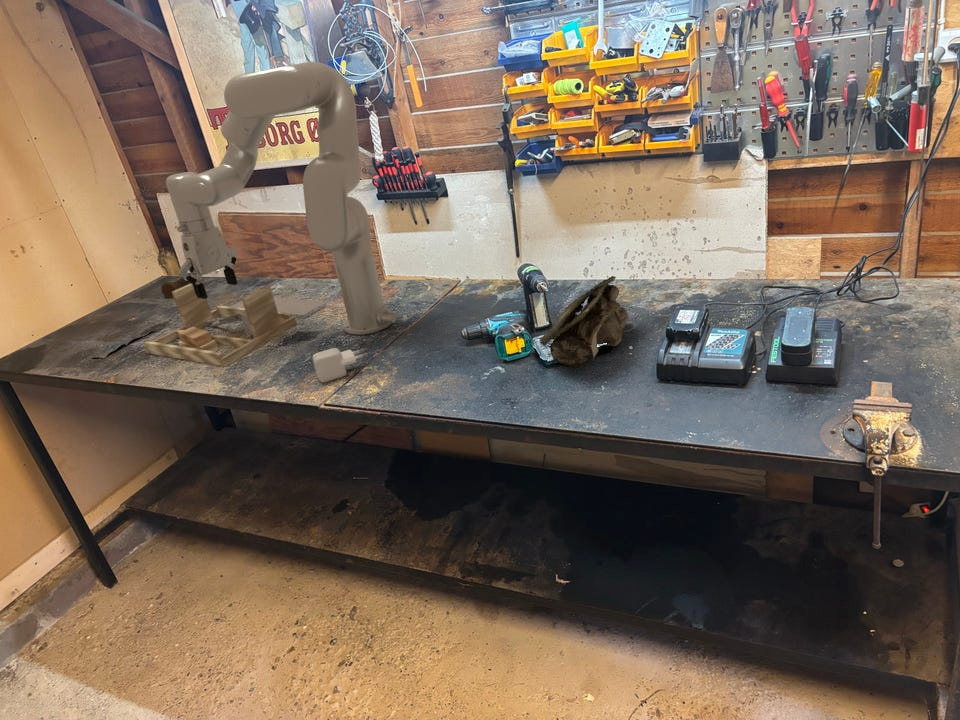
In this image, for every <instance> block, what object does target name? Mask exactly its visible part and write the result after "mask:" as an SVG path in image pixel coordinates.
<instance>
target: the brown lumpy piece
mask: <svg viewBox="0 0 960 720" xmlns="http://www.w3.org/2000/svg"><path fill="white" fill-rule="evenodd" d="M187 273H188V274H189V276H191V273H190V272H187ZM196 276H197V275H196ZM188 284H190V283H189V282H187V281H185V280H184V279H183V278H182V277H181V276H180V278H179V279H177V280H175V281H165V282H163V283H161V288H160V289H161V293H162V294H163V295H164V297H166V298H167V299H174V297H173V294H172V291H175V290H177V289H179V288H181V287H184V286H186V285H188Z"/></svg>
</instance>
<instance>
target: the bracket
mask: <svg viewBox="0 0 960 720" xmlns="http://www.w3.org/2000/svg"><path fill="white" fill-rule="evenodd" d="M237 315H238V316H237ZM212 321H214V322H217V321H218V323H215V324H213V323H211V322H212ZM238 321H239V322H242V326H243V331H244V332H243V333H244V335H245V337H246V339H249V338H250V337H251V336H254V335H253V332H252V329H251V326H250V323H249V320H248V317H247V314H244V313H242V312H241V313H238V314H235V315H231V316H228V317H217V318H215V319H213V320H208V321H207V323H208V325H207V326H209V327H211V328H213V327H218V326H223V325H226V324H229V323H234V322H238Z"/></svg>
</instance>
